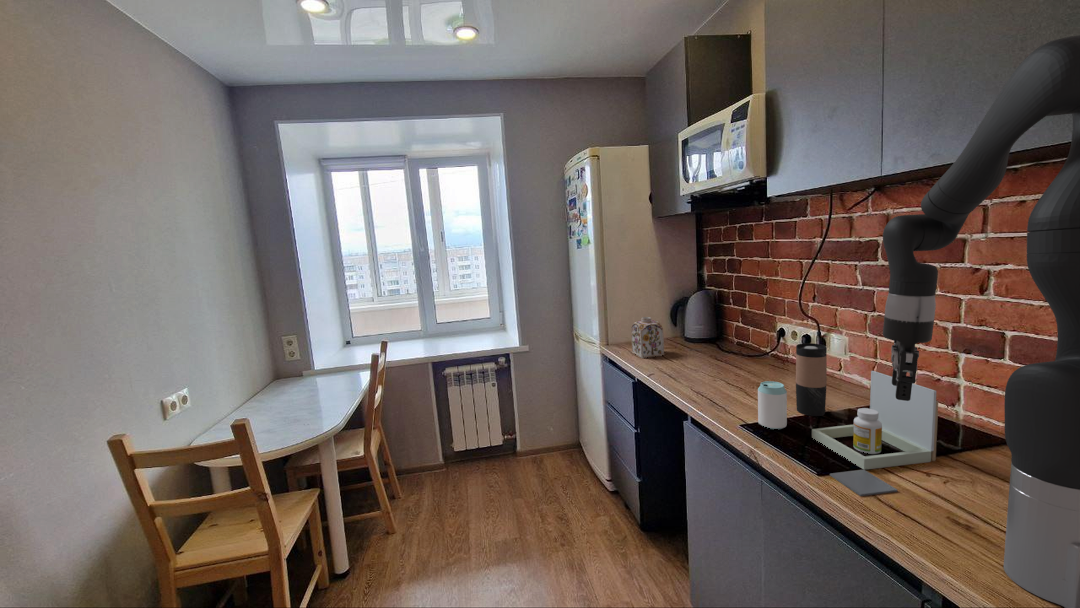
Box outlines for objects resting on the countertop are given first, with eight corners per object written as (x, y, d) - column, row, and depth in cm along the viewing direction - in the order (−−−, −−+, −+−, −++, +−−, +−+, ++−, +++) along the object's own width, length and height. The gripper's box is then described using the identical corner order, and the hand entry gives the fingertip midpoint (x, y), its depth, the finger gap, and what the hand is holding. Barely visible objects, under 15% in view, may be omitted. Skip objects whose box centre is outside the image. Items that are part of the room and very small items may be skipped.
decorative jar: (631, 353, 208) (630, 317, 205) (653, 350, 210) (652, 314, 207) (641, 358, 196) (640, 320, 194) (665, 355, 198) (663, 318, 196)
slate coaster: (897, 491, 85) (897, 489, 85) (860, 496, 84) (860, 494, 84) (863, 471, 93) (863, 469, 93) (829, 475, 92) (829, 473, 92)
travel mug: (828, 409, 125) (829, 344, 123) (823, 418, 120) (824, 350, 117) (798, 405, 131) (798, 342, 128) (793, 413, 125) (793, 347, 122)
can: (775, 432, 113) (775, 390, 112) (752, 424, 120) (752, 383, 118) (792, 426, 116) (792, 384, 115) (769, 418, 123) (768, 378, 121)
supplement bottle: (874, 444, 104) (875, 407, 102) (885, 455, 98) (887, 415, 97) (849, 443, 105) (849, 406, 104) (859, 454, 100) (860, 415, 99)
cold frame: (936, 461, 94) (939, 390, 92) (864, 469, 93) (865, 398, 91) (874, 431, 110) (876, 370, 108) (811, 438, 109) (812, 376, 107)
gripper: (940, 325, 76) (930, 409, 79) (928, 310, 87) (919, 384, 90) (887, 321, 80) (879, 401, 83) (882, 308, 92) (875, 378, 95)
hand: (900, 392), depth 87 cm, fingers open, 8 cm apart
